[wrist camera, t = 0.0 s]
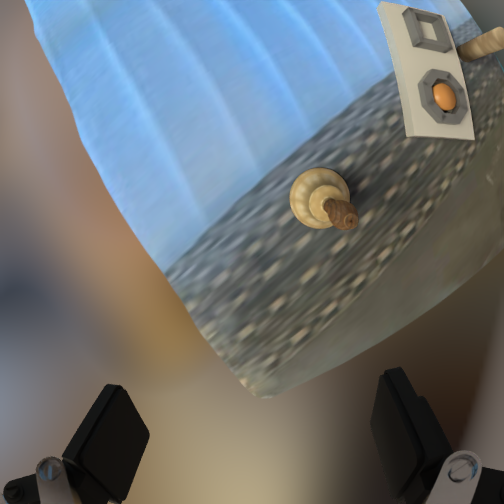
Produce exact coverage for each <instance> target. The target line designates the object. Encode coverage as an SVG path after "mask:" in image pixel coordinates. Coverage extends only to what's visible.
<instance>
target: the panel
mask: <svg viewBox="0 0 504 504" xmlns="http://www.w3.org/2000/svg"><path fill="white" fill-rule="evenodd" d="M376 9H377V11H378V14H379V17H380V20H381V23H382V26H383V30H384V33H385V36H386V39H387V43H388V46H389V50H390V54H391V58H392V62H393V66H394V70H395V74H396V79H397V83H398V88H399V93H400V98H401V104H402V110H403V116H404V123H405V130H406V137H424V138H442V139H456V140H475V139H474V130H473V123H472V117H471V111H470V105H469V100H468V95H467V90H466V85H465V81H464V77H463V73H462V69H461V65H460V62H459V58H458V55H457V51H456V48H455V45H454V42H453V39H452V36H451V33H450V30H449V27H448V25H447V22H446V20H445V17H444V16H443V15H440V14H437V13H433V12H429V11H426V10H422V9H418V8H413V7H409V6H404V5H399V4H394V3H388V2H382V1H381V3H380V4H379V5H378V7H377V8H376ZM440 83H443V84H446V85H448V86H449V87H450V88H451V89H452V91H453V92H454V94H455V97H456V105H455V107H454V108H453V109H451V110H447V113H444V112H443V111H442V109H441V108H440V107H439V106H438V105H437V104H436V103H435V102H434V97H433V92H432V85H434V86H435V85H437V84H440Z"/></svg>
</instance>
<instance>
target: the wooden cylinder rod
mask: <svg viewBox="0 0 504 504" xmlns="http://www.w3.org/2000/svg"><path fill="white" fill-rule="evenodd" d="M501 49H504V28H502V27H497V28H495V29H493V30H491V31H489V32H487V33H485V34H482V35H480V36H478V37H476V38H474V39H472V40H470V41H468V42H466V43H464V44H462V45H460V46H458V47H457V53H458V55H459V57H460V58H461V59H462V60H463V61H464V62H470V61H473V60H475V59H478V58H480V57H483V56H485V55H488V54H491V53H493V52H496V51H499V50H501Z"/></svg>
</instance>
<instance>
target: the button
mask: <svg viewBox="0 0 504 504" xmlns="http://www.w3.org/2000/svg"><path fill="white" fill-rule="evenodd" d="M432 92H433V97H434V102H435V103H436V104H437V105H438V106H439V107H440V108H441V109H442V111H447V110H451V109H453V108H454V107H455V105H456V97H455V94H454V92H453V91H452V89H451V88H450V87H449V86H448V85H446V84H443V83H440V84H437V85H435V86H432Z"/></svg>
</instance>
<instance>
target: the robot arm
mask: <svg viewBox="0 0 504 504" xmlns="http://www.w3.org/2000/svg"><path fill="white" fill-rule="evenodd" d="M370 425H371V430H372V433H373V437H374V440H375V443H376V447H377V450H378V453H379V457H380V460H381V463H382V467H383V470H384V474H385V478H386V481H387V485H388V488H389V492H390V496H391V498H392V499H396V500H397V504H398V503H402V502H405V501H406V504H504V471H500V470H495V469H490V468H485V467H482V464H481V460H480V458H479V457H478V456H477V455H476V454H474V453H473V452H470V451H458V452H455V453H454V452H453V450H452V448H451V446H450V444H449V442H448V440H447V438H446V436H445V434H444V432H443V430H442V428H441V426H440V424H439V422H438V420H437V418H436V416H435V415H434V413H433V411H432V409H431V407H430V406H429V404H428V402H427V400H426V399H425V398H424V397H423V396H419V397H418V396H417V394H416V393H415V391H414V389H413V387H412V385H411V383H410V381H409V380H408V378H407V376H406V374H405V372H404V371H403V369H402V368H401V367H397V368H393V369H388V370H385V372H384V375H380V377H379V383H378V388H377V393H376V399H375V403H374V408H373V413H372V417H371V422H370ZM149 436H150V434H149V430H148V429H147V427H146V425H145V424H144V422H143V420H142V418H141V417H140V415H139V413H138V411H137V410H136V408H135V406H134V404H133V402H132V400H131V399H130V397H129V395H128V393H127V391H126V390H124V389H123V387H122V386H120V385H112V384H107V385H106V386H105V387H104V389H103V390H102V392H101V393H100V395H99V396H98V398H97V399H96V401H95V402H94V404H93V406H92V407H91V409H90V410H89V412H88V413H87V415H86V417H85V418H84V420H83V421H82V423H81V425H80V426H79V428H78V429H77V431H76V433H75V434H74V436H73V438H72V439H71V441H70V443H69V444H68V446H67V448H66V450H65V451H64V453H63V455H62V457H63V460H62V461H61V460H60V459H59V458H57V457H53V456H51V457H46V458H44V459H42V460H41V461H40V462H39V463H38V465H37V467H36V473H35V474H32V475H29V476H25V477H22V478H19V479H15V480H12V481H9V482H8V483H7V484H6V486H5V487H4V491H3V494H2V493H0V504H107V503H108V501H109V502H111V503H114V504H121V503H122V501H124V500H125V499H126V497H127V495H128V492H129V490H130V487H131V484H132V482H133V479H134V476H135V474H136V471H137V468H138V466H139V463H140V461H141V458H142V456H143V453H144V450H145V448H146V445H147V443H148V440H149Z"/></svg>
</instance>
